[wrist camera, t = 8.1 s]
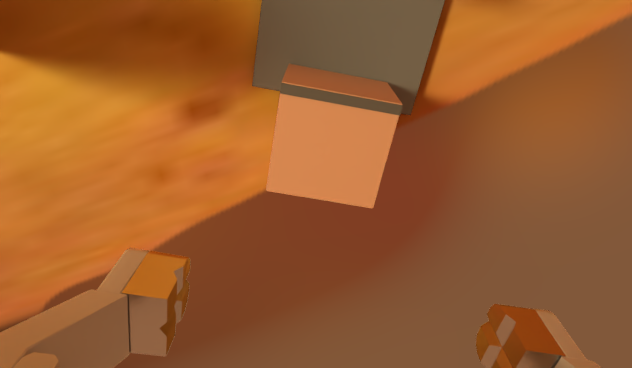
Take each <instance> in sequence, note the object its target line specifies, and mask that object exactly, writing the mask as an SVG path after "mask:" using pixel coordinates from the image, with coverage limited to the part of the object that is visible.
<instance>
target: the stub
mask: <svg viewBox="0 0 632 368" xmlns="http://www.w3.org/2000/svg"><path fill="white" fill-rule="evenodd" d="M401 110H402V103H401V101H400V100H399V98H398V97H397V96H396V94H395V93H394V91H393V90H392V89H391V87H390V86H389V84H388V83H387V82H383V81H378V80H373V79H367V78H362V77H357V76H352V75H346V74H341V73H336V72H331V71H325V70H320V69H315V68H310V67H304V66H299V65H294V64H289V65H288V67H287V70H286V72H285V75H284V77H283V80H282V83H281V89H280V97H279V104H278V111H277V118H276V125H275V132H274V139H273V145H272V152H271V159H270V166H269V173H268V180H267V187H266V191H271V192H277V193H283V194H289V195H296V196H301V197H307V198H314V199H320V200H325V201H331V202H337V203H343V204H349V205H355V206H361V207H367V208H373V206H374V202H375V199H376V195H377V192H378V188H379V185H380V181H381V178H382V174H383V171H384V167H385V164H386V160H387V157H388V153H389V150H390V146H391V143H392V139H393V136H394V132H395V129H396V125H397V122H398V118H399V116H400V113H401Z"/></svg>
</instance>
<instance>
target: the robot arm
mask: <svg viewBox="0 0 632 368" xmlns="http://www.w3.org/2000/svg"><path fill="white" fill-rule="evenodd" d="M189 272H190V258H189V257H184V256H178V255H172V254H167V253H161V252H155V251H148V250H142V249H136V248H129V249H127V250H126V251H125V252H124V254H123V255H122V256H121V258H120V259H119V260H118V262H117V263H116V264H115V266H114V267H113V269H112V270H111V271H110V273H109V274H108V275H107V277H106V278H105V279H104V281H103V282H102V284H101V285H100V286H99V288H98V289H97V290H88V291H86V292H84V293H82V294H80V295H78V296H76V297H74V298H71V299H69V300H67V301H65V302H63V303H61V304H59V305H57V306H55V307H53V308H51V309H48V310H46V311H44V312H42V313H40V314H38V315H36V316H34V317H32V318H30V319H28V320H26V321H23V322H21V323H19V324H17V325H15V326H13V327H11V328H9V329H7V330H5V331H3V332H0V368H113V367H115V366H116V365H117V364H119V363H120V362H121V361H122V360H124V359H125V358H126V357H127V356H129V353H137V354H147V355H156V356H166V355H167V353H168V351H169V348H170V346H171V343H172V341H173V339H174V336H175V329H176V323H178V322H179V321H181V319H182V317H183V314H184V312H185V308H186V304H187V301H188V295H189V282H188V281H187V280H186V279H187V276H188V274H189ZM487 316H488V319H489V321H488V322H487V323H485V324H483V325H482V326H481V327H480V329H479V331H478V333H477V337H476V350H477V354H478V357H479V359H480V362H481V363H482V364H483V365H484V366H485V367H486V368H602V367H600V366H599V365H598V364H596V363H595V362H594V361H591V360H587V359H586V358H585V357H584V356H583V354H582V352H581V351H580V350H579V348H578V347H577V345H576V344H575V342H574V341H573V340H572V338H571V337H570V336H569V334H568V333H567V331H566V330H565V328H564V327H563V326H562V324H561V323H560V321H559V320H558V319H557V317H556V316H555V314H553V313H552V312H550V311H549V310H540V309H533V308H530V309H529V308H522V307H515V306H509V305H501V304H494V305H492V306H491V307H490V309H489V311H488V313H487Z"/></svg>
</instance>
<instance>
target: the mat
mask: <svg viewBox="0 0 632 368" xmlns="http://www.w3.org/2000/svg"><path fill="white" fill-rule="evenodd" d="M444 1H445V0H262V4H261V13H260V22H259V31H258V40H257V49H256V57H255V66H254V75H253V84H252V86H255V87H261V88H266V89H271V90H277V91H280V89H281V83H282V80H283V77H284V75H285V72H286V70H287V67H288V65H289V64H294V65H299V66H304V67H310V68H315V69H320V70H325V71H331V72H336V73H341V74H346V75H352V76H357V77H362V78H367V79H373V80H378V81H383V82H387V83H388V84H389V86H390V87H391V89H392V90H393V91H394V93H395V94H396V96H397V97H398V98H399V100H400V101H401V103H402V110H401V114H407V115H411V112H412V109H413V105H414V102H415V99H416V95H417V92H418V89H419V85H420V82H421V79H422V75H423V72H424V68H425V65H426V62H427V58H428V55H429V52H430V48H431V45H432V42H433V38H434V35H435V32H436V28H437V25H438V21H439V18H440V15H441V11H442V8H443V5H444Z"/></svg>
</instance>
